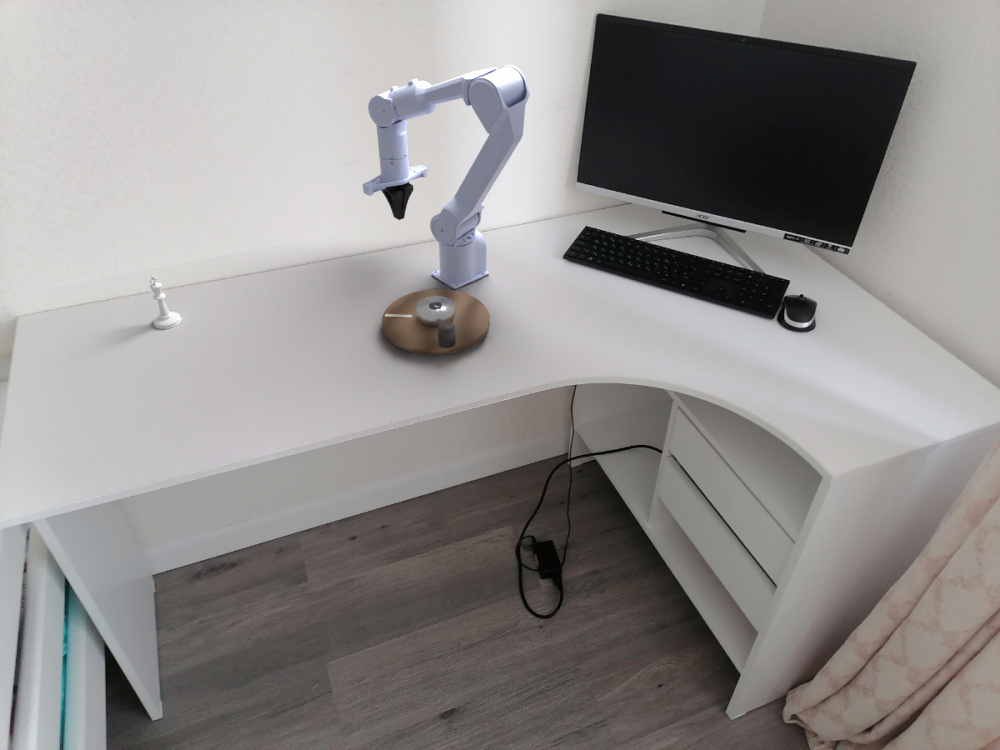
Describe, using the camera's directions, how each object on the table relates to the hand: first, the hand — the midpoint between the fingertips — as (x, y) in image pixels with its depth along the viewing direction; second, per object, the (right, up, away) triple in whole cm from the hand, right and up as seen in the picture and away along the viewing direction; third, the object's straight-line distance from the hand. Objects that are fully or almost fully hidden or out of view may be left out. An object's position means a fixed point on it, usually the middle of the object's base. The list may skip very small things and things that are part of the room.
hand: (398, 217), depth 152 cm
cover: (+9, -22, -16) cm, 29 cm away
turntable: (+9, -23, -16) cm, 29 cm away
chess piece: (-42, -23, -14) cm, 50 cm away
